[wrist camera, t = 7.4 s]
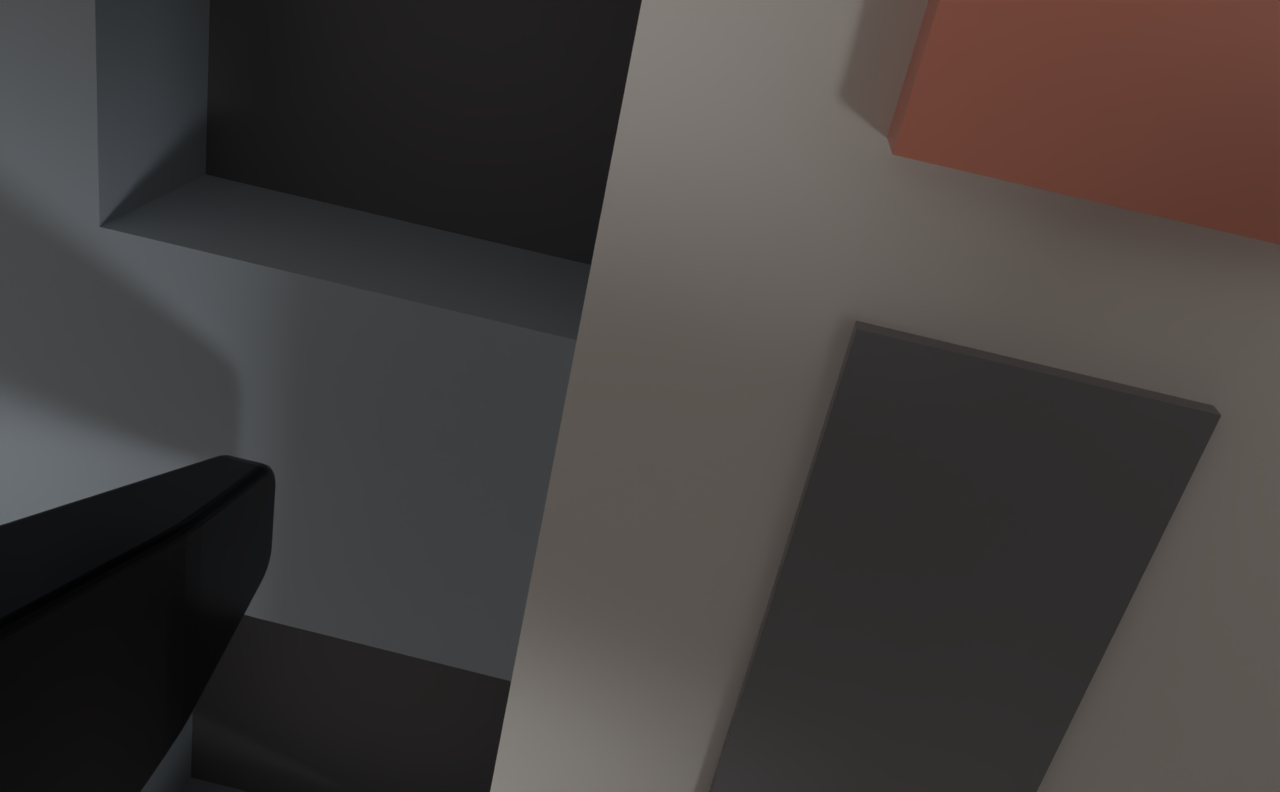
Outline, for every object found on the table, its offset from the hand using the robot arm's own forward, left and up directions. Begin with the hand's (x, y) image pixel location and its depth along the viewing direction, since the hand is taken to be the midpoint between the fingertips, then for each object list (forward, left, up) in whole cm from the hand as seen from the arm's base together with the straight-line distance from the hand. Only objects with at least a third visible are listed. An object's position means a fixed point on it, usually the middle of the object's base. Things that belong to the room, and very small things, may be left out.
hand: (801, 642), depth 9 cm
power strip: (0, 0, -2) cm, 2 cm away
